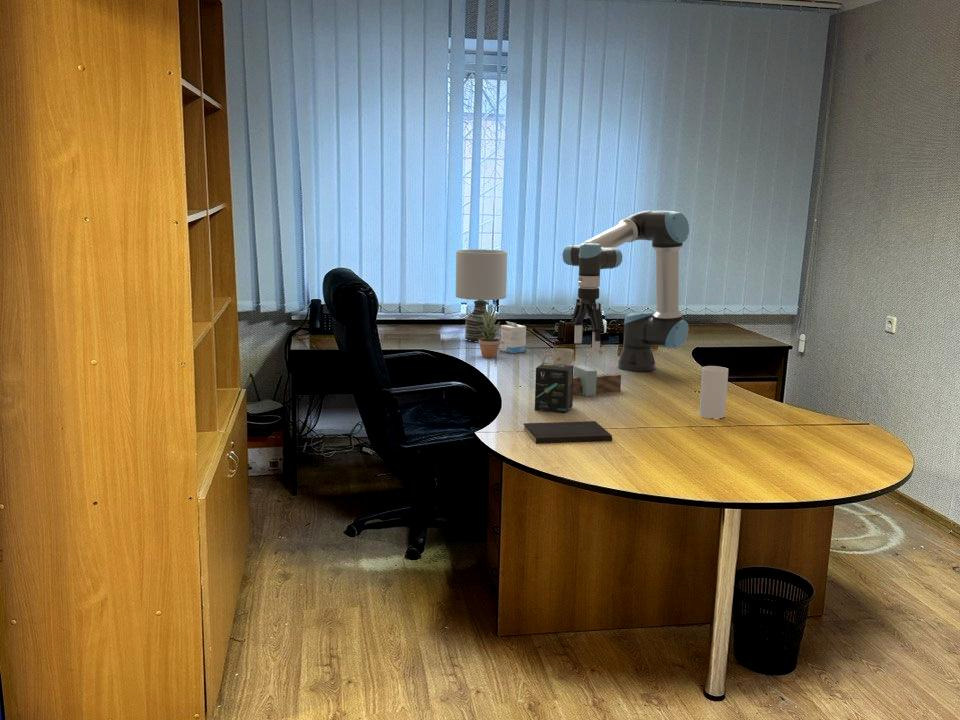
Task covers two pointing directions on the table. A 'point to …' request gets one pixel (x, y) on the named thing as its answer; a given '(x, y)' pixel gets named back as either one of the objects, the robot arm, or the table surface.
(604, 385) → the walnut rail
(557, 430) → the hardcover book
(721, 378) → the cup
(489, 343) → the potted plant
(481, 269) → the lamp
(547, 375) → the tampon box
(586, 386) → the blue-grey notched block
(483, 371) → the table surface
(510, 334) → the white box
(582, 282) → the robot arm
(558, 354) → the mug
